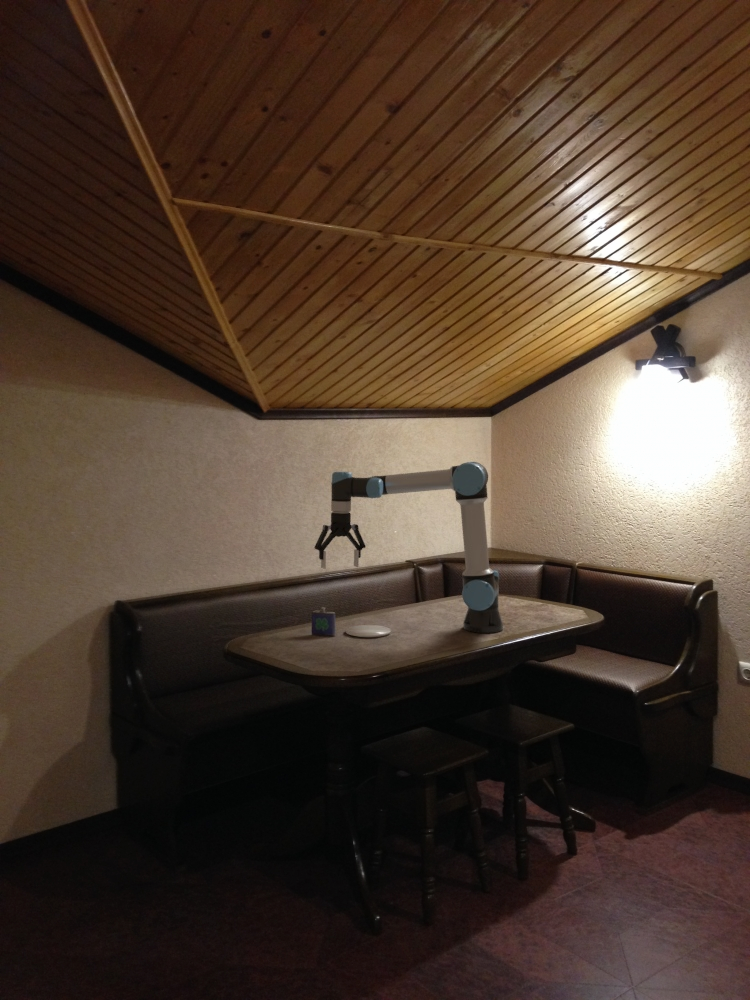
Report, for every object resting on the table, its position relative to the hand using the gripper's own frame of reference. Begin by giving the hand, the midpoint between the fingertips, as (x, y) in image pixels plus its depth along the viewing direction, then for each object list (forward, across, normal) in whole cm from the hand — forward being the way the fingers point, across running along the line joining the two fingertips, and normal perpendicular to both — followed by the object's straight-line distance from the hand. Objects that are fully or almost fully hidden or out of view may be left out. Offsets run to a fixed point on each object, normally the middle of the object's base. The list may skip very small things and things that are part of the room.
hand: (339, 567), depth 316 cm
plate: (+24, -7, +12) cm, 27 cm away
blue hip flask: (+24, +10, +8) cm, 27 cm away
